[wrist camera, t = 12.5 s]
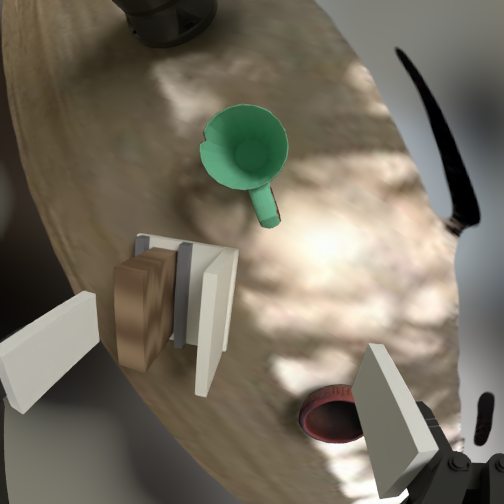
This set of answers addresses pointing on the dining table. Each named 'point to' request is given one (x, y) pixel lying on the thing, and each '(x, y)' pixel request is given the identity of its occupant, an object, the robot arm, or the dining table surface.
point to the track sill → (200, 299)
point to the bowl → (331, 415)
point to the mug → (247, 155)
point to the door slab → (144, 306)
